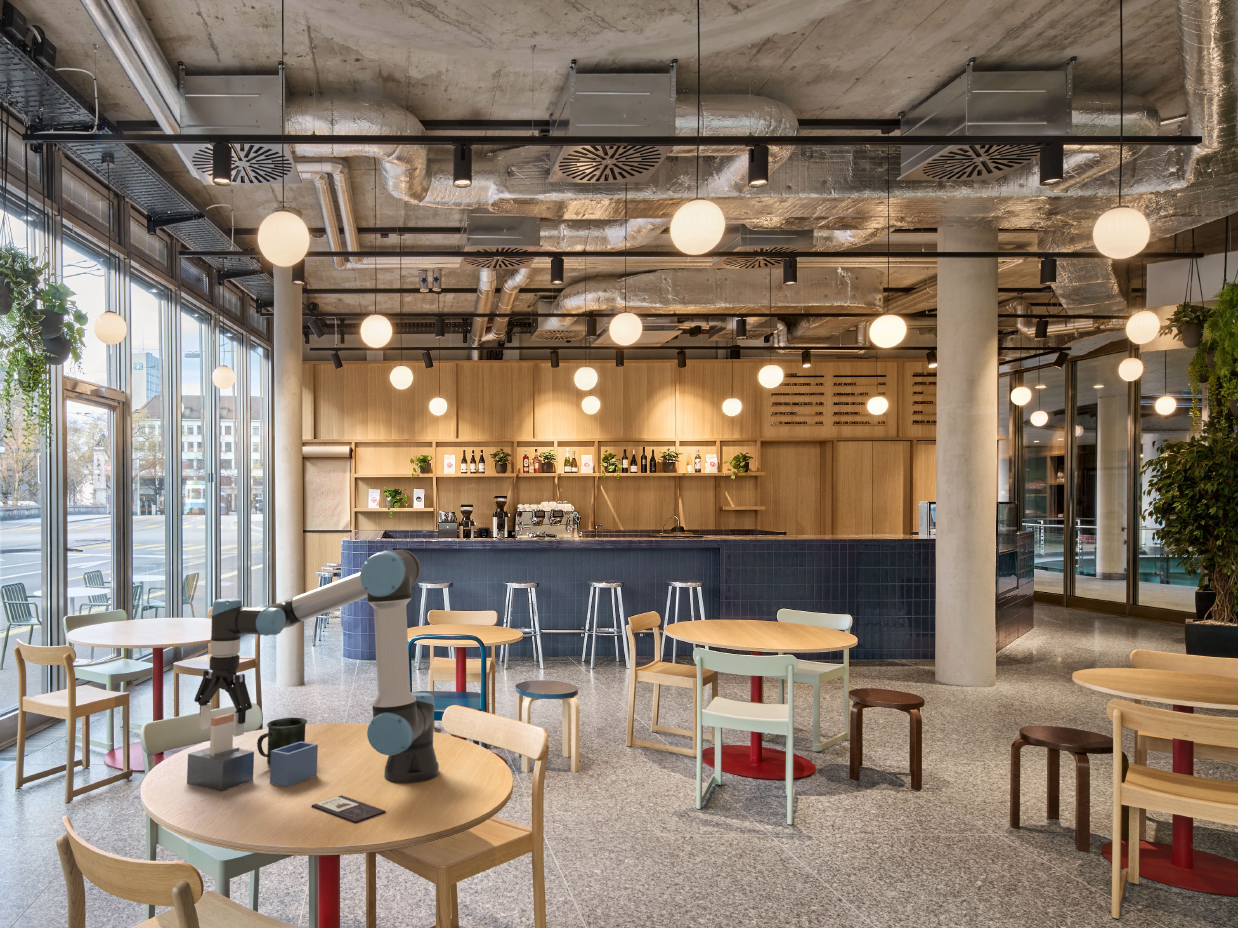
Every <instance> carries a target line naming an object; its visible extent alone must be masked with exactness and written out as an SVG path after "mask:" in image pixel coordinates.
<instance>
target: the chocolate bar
mask: <svg viewBox="0 0 1238 928" xmlns="http://www.w3.org/2000/svg"><path fill="white" fill-rule="evenodd" d="M311 808H313V809H316V810H318V811H320V812H323V813H326V814H329V815H331V816H334V817H337V818H340V819H341V820H345V821H348V822H349V823H353V824H355V825H357V824H358V823H362V822H364V821H366V820H370V819H372V818H375V817H378V816H381V815H383V814H384V815H385V814H386V813H387V812H386V810H385V809H382V808H379V807H377V806H373V805H370V804H367V803H365V802H362V801H359V800H357V799H353V798H352V797H351V798H350V797H348V796H345V795H338V796H336V797H332V798H330V799H327V800H323V801H320V802H317V803H316V802H315V803H314V804H311Z"/></svg>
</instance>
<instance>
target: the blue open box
mask: <svg viewBox="0 0 1238 928" xmlns="http://www.w3.org/2000/svg"><path fill="white" fill-rule="evenodd" d="M318 747H319V746H318V744H317V743H311V742H306V741H305V742H302V741H300V742H297V743H294V744H291V745H288V746H285V747H281V748H278V749H275V750H272V751H271V761H270V766H269V769H270V770H269V784H271V785H276V786H280V787H286V788H289V787H291V786H294V785H296V784H299V783H301V782H304V781H307V780H310V779H312V778H313V779H314V777H317V775H318V753H319V752H318V751H319V749H318Z"/></svg>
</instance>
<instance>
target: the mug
mask: <svg viewBox="0 0 1238 928" xmlns="http://www.w3.org/2000/svg"><path fill="white" fill-rule="evenodd" d="M307 723H308V721H307V719H306V718H302V717H284V718H277V719H273V720H270V721H269V722H268V723H267V724H266V727H267V730H268V732H266V733H263V734H260V736H259V737H258V738H257V741H256V746H257V748H256V749H257V751H258V753H259V755H260V756H262V757H263V758H266V759H267V760H266V761H267V762H266V763H267V765H268V766H269V767H270V761H271V751H272V750H275V749H278V748H281V747H285V746H288V745H291V744H294V743H297V742H300V741H302V742H306V724H307ZM266 738H267V753H265V752H264V749H263V745H262V744H263V741H264V739H266Z"/></svg>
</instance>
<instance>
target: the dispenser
mask: <svg viewBox="0 0 1238 928" xmlns="http://www.w3.org/2000/svg"><path fill="white" fill-rule="evenodd" d="M254 760H255V751H253V750H248V749H243V748H240V746H237V747H235V746H233V748H232V749H229V750H226V751H223V752H219V753H216V754H213V756H210V747H206V748H204V749H200V750H196V751H193V752H189V753H187V773H186V774H187V775H186V784H188V785H192V786H195V787H201V788H205V789H209V790H213V791H217V792H222V793H223V792H225V791H228V790H230V789H234V788H236V787H239V786H241V785H245V784H248V783H251V782H253V781H254V769H255V768H254V767H255V766H254V762H255V761H254Z"/></svg>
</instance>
